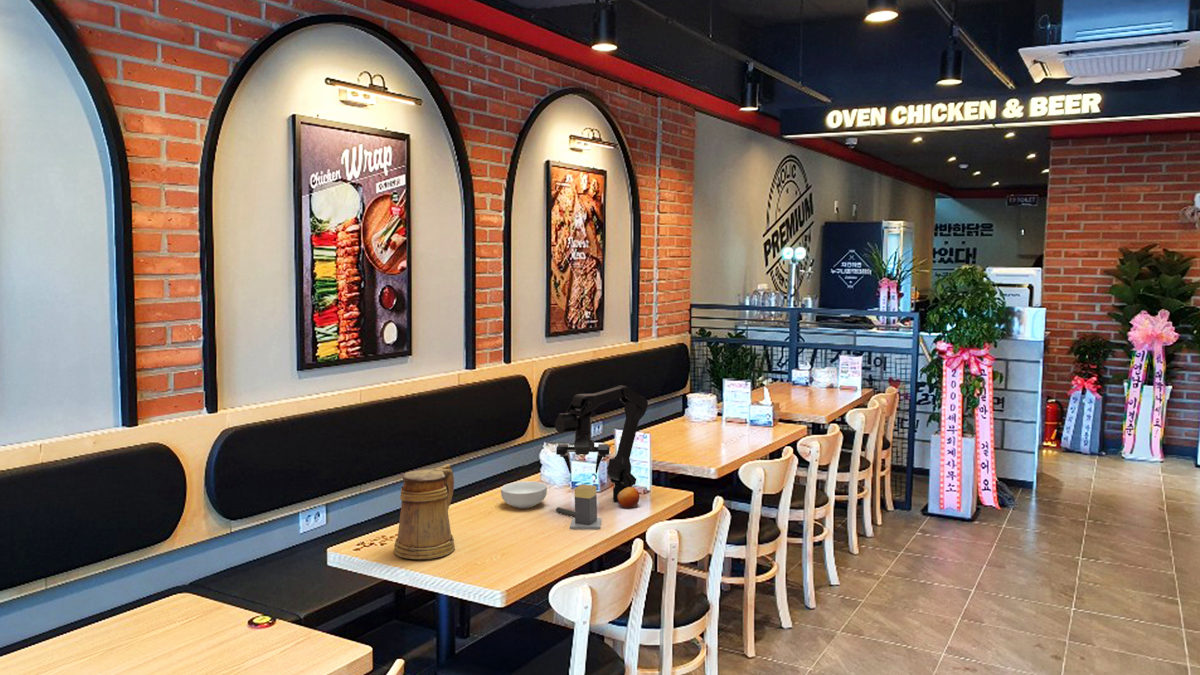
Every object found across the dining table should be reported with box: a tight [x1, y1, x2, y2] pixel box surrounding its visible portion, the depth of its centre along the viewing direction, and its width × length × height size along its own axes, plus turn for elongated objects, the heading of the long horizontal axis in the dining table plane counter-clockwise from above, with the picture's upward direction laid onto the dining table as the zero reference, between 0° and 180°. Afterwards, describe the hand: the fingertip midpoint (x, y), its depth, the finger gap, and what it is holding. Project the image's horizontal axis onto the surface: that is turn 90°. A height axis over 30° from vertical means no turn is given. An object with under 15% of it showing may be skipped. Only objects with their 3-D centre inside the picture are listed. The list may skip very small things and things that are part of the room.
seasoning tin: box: [574, 484, 598, 525], centre depth 299 cm, size 6×6×12 cm
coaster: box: [569, 517, 602, 530], centre depth 299 cm, size 10×10×1 cm
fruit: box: [617, 486, 640, 509], centre depth 321 cm, size 8×8×8 cm
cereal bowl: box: [500, 480, 548, 509], centre depth 324 cm, size 17×17×7 cm
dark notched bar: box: [555, 506, 575, 518], centre depth 311 cm, size 14×2×2 cm, turn 44°
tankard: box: [393, 463, 456, 560], centre depth 276 cm, size 18×24×25 cm
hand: (583, 473), depth 317 cm, fingers open, 9 cm apart
